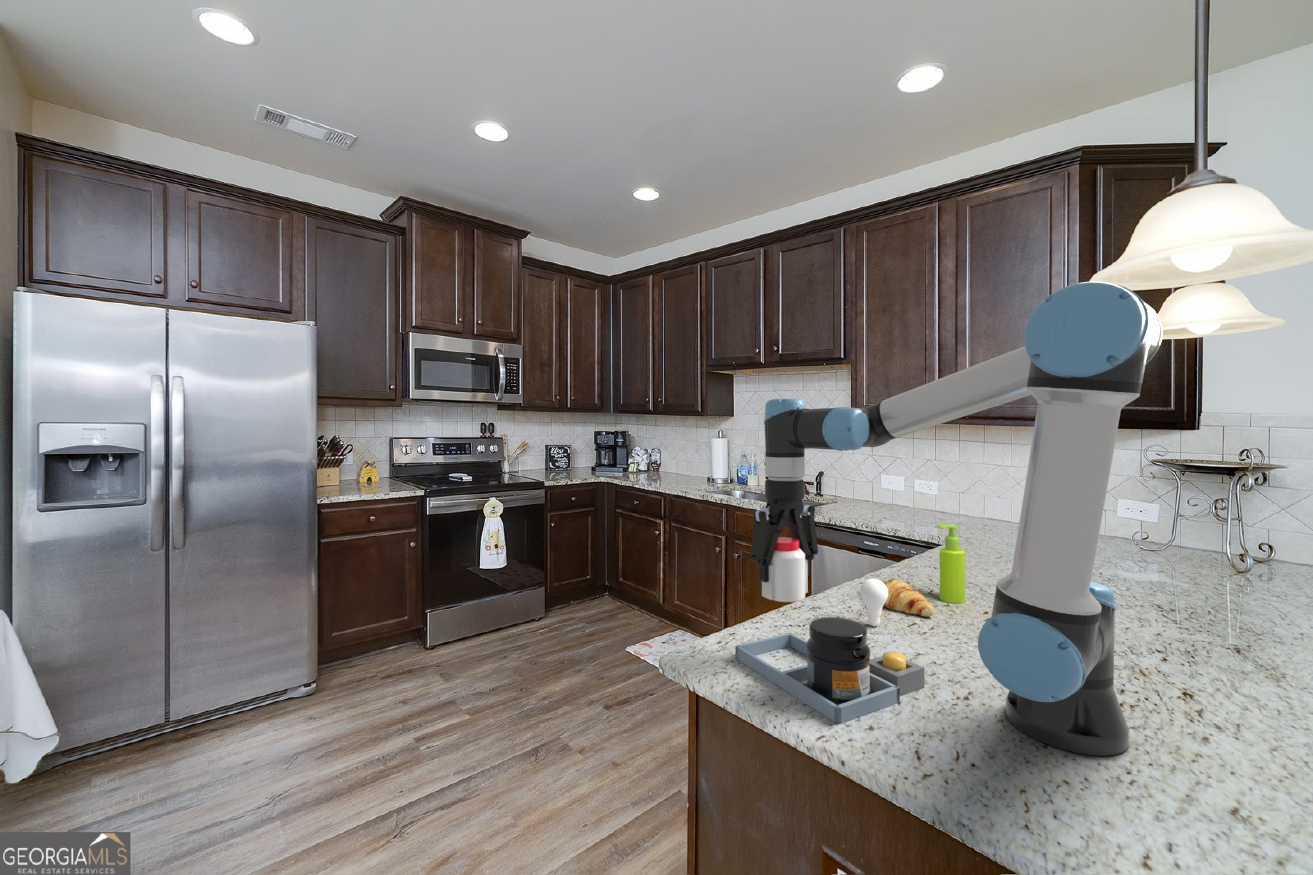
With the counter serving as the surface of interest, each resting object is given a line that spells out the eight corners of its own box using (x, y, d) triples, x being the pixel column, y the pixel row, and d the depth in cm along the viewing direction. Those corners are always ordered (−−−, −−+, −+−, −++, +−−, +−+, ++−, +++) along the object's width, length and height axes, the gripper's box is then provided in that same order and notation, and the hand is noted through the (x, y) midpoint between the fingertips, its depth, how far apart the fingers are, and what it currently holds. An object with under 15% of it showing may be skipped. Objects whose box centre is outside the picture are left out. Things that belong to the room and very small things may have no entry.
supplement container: (880, 710, 90) (880, 638, 89) (815, 710, 90) (815, 638, 89) (857, 680, 100) (857, 615, 100) (800, 680, 100) (799, 616, 100)
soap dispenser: (931, 597, 146) (931, 522, 145) (955, 596, 146) (955, 522, 146) (945, 604, 140) (945, 527, 139) (970, 603, 141) (970, 526, 140)
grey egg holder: (924, 687, 97) (924, 667, 97) (897, 696, 94) (897, 676, 94) (891, 671, 103) (891, 653, 103) (865, 679, 100) (865, 661, 100)
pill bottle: (804, 590, 110) (803, 536, 109) (806, 603, 102) (806, 545, 102) (764, 588, 111) (764, 535, 111) (764, 601, 104) (764, 543, 103)
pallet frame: (899, 702, 92) (899, 687, 92) (837, 724, 86) (837, 708, 85) (790, 644, 116) (790, 632, 116) (735, 658, 110) (735, 646, 110)
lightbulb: (875, 620, 130) (875, 574, 129) (894, 629, 124) (894, 581, 124) (854, 623, 128) (854, 576, 127) (872, 632, 122) (872, 584, 122)
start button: (910, 676, 98) (910, 658, 98) (896, 681, 96) (896, 662, 96) (892, 668, 101) (892, 650, 101) (878, 673, 99) (878, 654, 99)
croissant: (941, 632, 131) (953, 601, 132) (915, 618, 127) (927, 587, 128) (874, 603, 150) (884, 577, 151) (849, 591, 146) (860, 563, 148)
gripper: (811, 473, 114) (811, 581, 115) (729, 479, 105) (730, 597, 105) (838, 477, 107) (838, 591, 108) (753, 483, 98) (754, 609, 99)
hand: (785, 594), depth 107 cm, fingers closed on pill bottle, 8 cm apart
